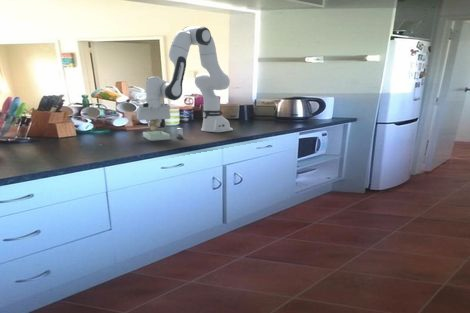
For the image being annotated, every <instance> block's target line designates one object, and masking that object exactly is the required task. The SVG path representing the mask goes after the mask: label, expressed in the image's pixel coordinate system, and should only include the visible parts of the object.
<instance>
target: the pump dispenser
mask: <svg viewBox="0 0 470 313" xmlns="http://www.w3.org/2000/svg"><path fill="white" fill-rule="evenodd" d="M156 120H158V119H156ZM158 122H159V121H158ZM166 124H167V123H166V119H162V121H161V123H160V127H158V130H151V132H154V131H163V132H165V130H166V128H167V125H166Z"/></svg>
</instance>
